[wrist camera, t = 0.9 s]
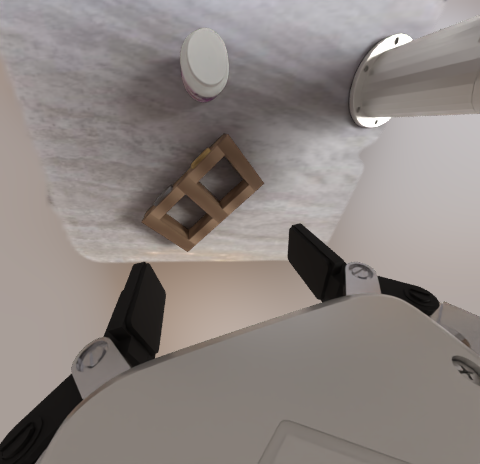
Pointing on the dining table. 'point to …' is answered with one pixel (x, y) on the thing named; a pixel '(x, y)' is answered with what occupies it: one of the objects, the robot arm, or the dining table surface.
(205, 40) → the pill bottle
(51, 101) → the dining table surface
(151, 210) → the socket block
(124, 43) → the dining table surface
